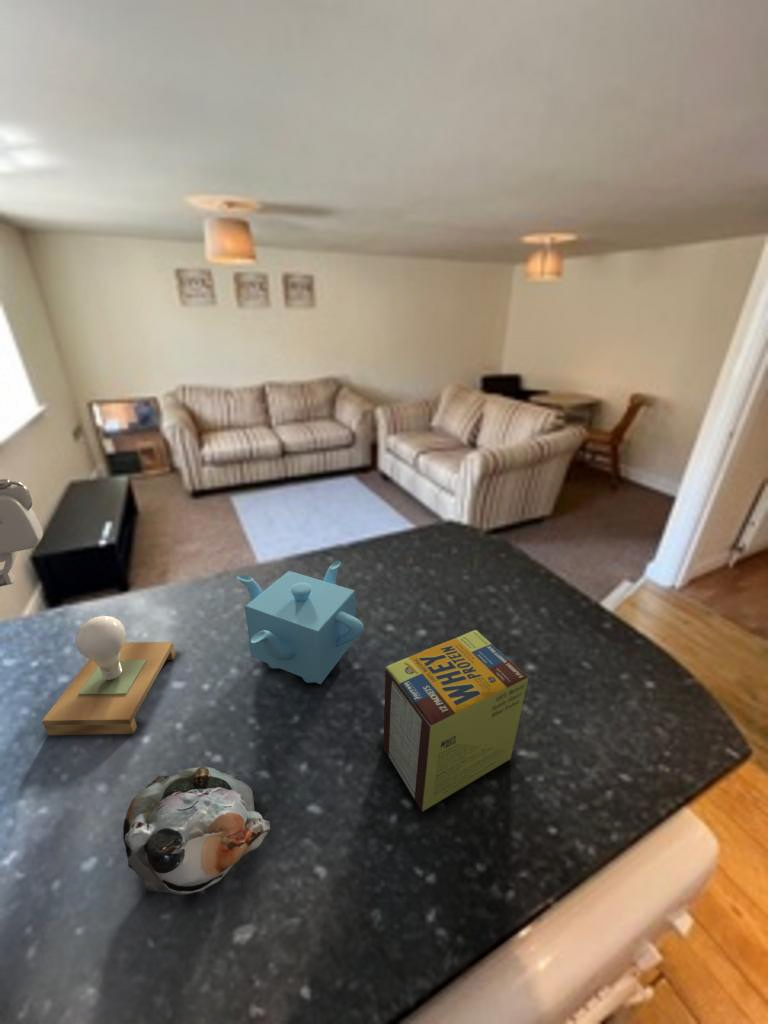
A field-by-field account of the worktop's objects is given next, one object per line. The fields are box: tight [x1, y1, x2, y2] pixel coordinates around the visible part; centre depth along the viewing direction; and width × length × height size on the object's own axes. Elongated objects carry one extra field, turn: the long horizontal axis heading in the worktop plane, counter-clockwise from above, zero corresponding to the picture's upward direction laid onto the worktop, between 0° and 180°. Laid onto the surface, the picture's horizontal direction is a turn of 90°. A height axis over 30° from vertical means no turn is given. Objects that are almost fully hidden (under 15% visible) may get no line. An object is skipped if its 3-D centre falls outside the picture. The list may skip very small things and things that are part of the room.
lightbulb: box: [75, 615, 127, 680], centre depth 68 cm, size 6×6×11 cm
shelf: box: [41, 641, 176, 736], centre depth 71 cm, size 12×16×3 cm
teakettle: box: [236, 560, 364, 685], centre depth 77 cm, size 19×19×15 cm
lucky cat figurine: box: [122, 766, 271, 896], centre depth 49 cm, size 15×12×14 cm
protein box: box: [382, 629, 529, 812], centre depth 60 cm, size 10×15×16 cm
